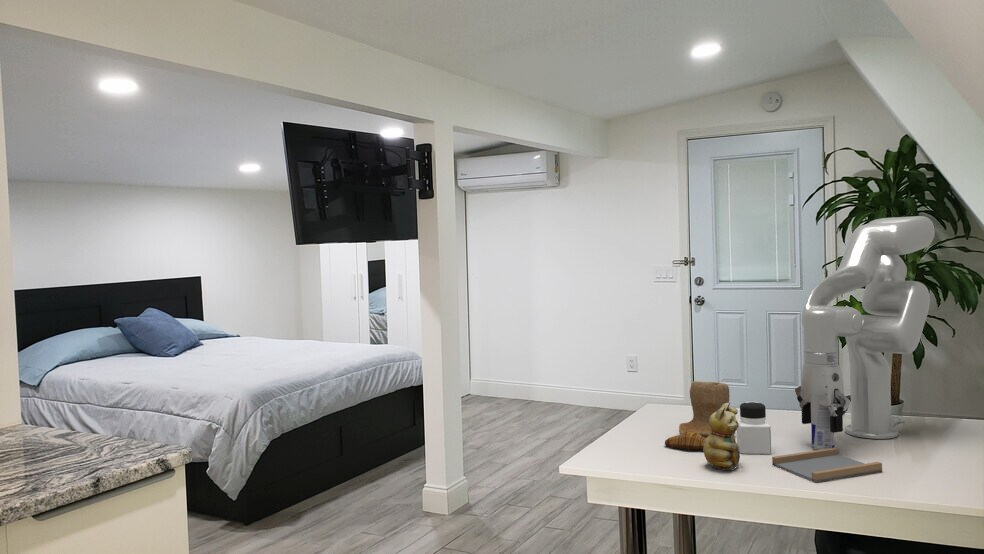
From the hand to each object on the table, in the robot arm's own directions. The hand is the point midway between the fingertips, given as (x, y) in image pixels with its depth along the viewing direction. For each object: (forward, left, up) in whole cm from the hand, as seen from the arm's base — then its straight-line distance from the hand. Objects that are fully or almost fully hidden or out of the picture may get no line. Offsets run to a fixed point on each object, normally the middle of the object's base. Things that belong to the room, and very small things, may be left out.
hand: (821, 427), depth 178 cm
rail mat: (+10, +12, -6) cm, 16 cm away
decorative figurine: (+30, +1, -6) cm, 30 cm away
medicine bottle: (+15, -7, -6) cm, 17 cm away
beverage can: (0, 0, -6) cm, 6 cm away
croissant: (+28, -15, -6) cm, 32 cm away
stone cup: (+17, -25, -6) cm, 31 cm away
